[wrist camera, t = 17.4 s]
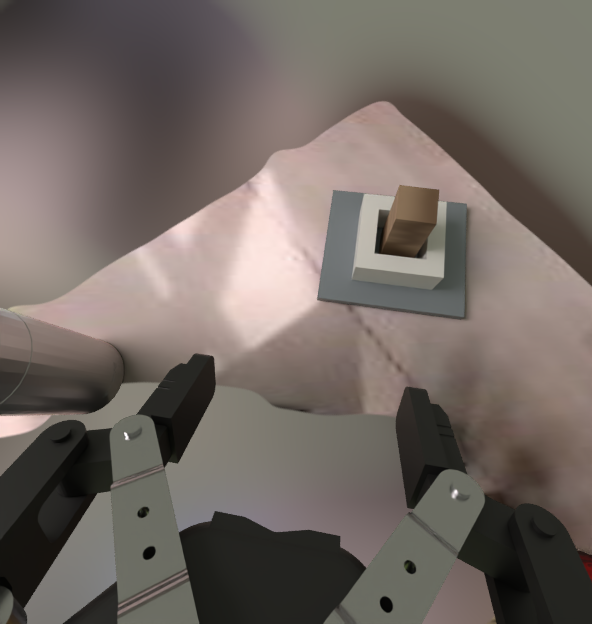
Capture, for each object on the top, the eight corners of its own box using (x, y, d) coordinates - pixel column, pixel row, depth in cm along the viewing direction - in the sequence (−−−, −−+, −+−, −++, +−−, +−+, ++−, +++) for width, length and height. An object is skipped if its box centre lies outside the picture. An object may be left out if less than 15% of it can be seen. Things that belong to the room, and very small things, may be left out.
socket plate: (317, 300, 43) (317, 286, 38) (333, 194, 47) (335, 170, 42) (460, 319, 41) (480, 307, 36) (463, 208, 46) (481, 184, 41)
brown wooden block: (377, 261, 43) (395, 218, 33) (381, 234, 44) (399, 185, 34) (409, 265, 42) (436, 224, 33) (411, 238, 44) (439, 189, 34)
